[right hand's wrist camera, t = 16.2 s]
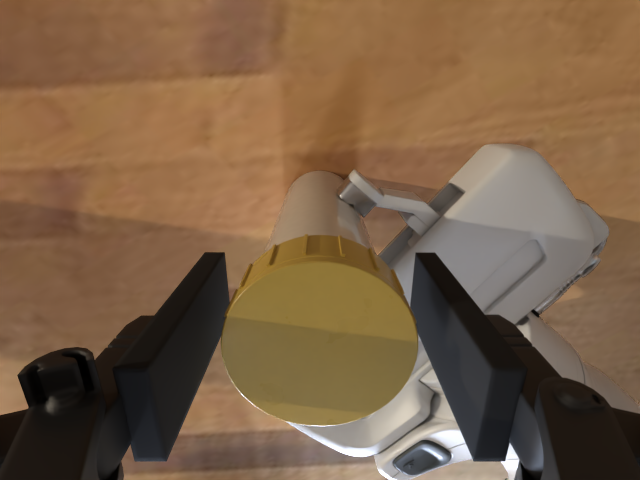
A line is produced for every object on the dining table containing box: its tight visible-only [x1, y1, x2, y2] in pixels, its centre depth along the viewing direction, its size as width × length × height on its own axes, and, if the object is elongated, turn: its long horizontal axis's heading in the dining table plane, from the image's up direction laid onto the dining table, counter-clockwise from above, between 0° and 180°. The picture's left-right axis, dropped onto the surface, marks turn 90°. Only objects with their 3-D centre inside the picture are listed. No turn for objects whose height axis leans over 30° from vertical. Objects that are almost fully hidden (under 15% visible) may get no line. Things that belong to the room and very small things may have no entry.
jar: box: [264, 171, 376, 254], centre depth 18 cm, size 5×5×16 cm
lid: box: [221, 234, 418, 426], centre depth 11 cm, size 6×6×2 cm
